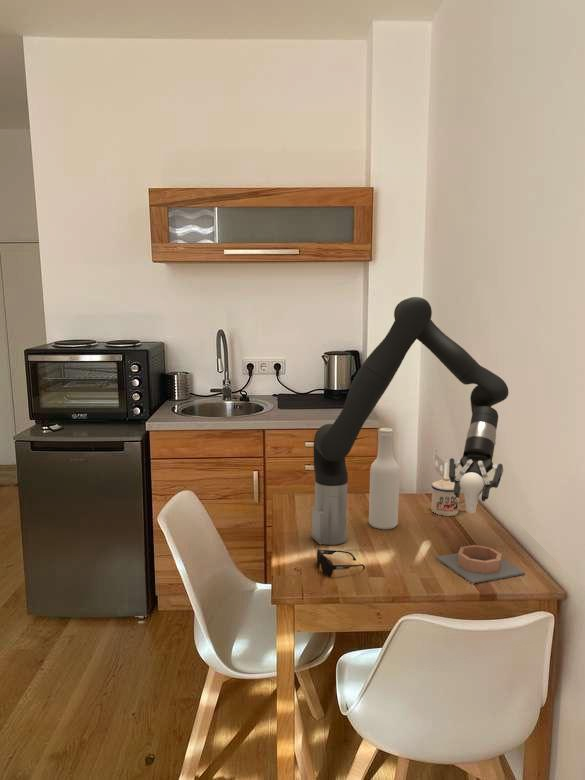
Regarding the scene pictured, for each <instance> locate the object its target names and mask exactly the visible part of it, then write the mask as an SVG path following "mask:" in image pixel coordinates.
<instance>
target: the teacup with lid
mask: <svg viewBox="0 0 585 780" xmlns="http://www.w3.org/2000/svg"><path fill="white" fill-rule="evenodd" d="M454 485H455V483H454V482H451V481H450V478H449V476H443V479H440V480H437V481H436V480H435V481H433V482H432V484H431V488H432V489H431V505H430V506H431V508H430V510H431V512H432V513H433V512H434V513H433V514H435V513H436V514H435V515H437V514H438V515H437V516H441V515H443V516H442V517H452V516H457V515H458V514H459V509H460V506H462V505H463V506H464V505H466V504H465V499H463V500H462V501H461V502H460V497H459V498H457V497H456V495H454V491H453V490H454ZM460 494H463V492H462V490H460Z"/></svg>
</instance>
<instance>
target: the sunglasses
mask: <svg viewBox="0 0 585 780" xmlns="http://www.w3.org/2000/svg"><path fill="white" fill-rule="evenodd" d="M316 550H317V551H316V560H317V566H318V568H321V571H322V573H323V574H325V575H326V576H328V577H331V576H332V575H333V573H334V571H336V570H348V569H350V568H353V567H355V568H356V567H361V566H362V569H363V570H366V567H365V565H364V564H333V562H332V561H331V560H330V559H329V558H328V557H327V556H326V555H334V554H336V553H344V554H348V555H351V557H352V559H353V561H357V559H356V557H355V556H354V554H352V552H349V551H345V550H333V549H331V550H330V549H319V548H318V547H316Z"/></svg>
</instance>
